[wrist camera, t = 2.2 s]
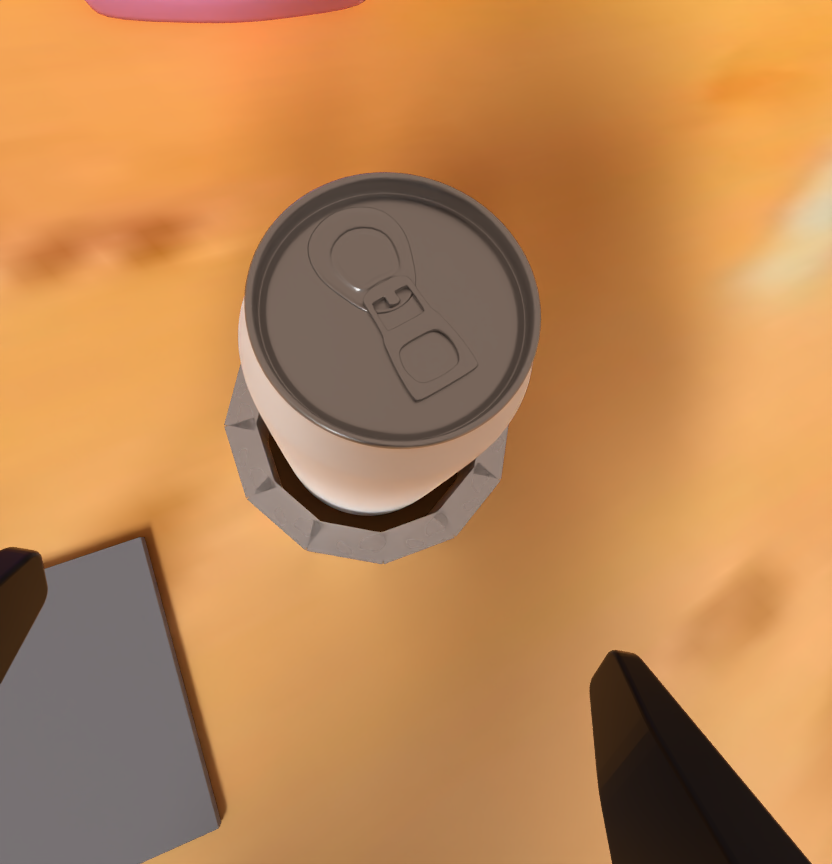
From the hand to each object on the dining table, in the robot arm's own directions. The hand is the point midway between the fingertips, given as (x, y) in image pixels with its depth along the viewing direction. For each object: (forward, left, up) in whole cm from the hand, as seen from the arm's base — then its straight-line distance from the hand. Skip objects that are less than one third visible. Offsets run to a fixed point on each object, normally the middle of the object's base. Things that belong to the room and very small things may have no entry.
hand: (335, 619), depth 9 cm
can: (+5, -3, -12) cm, 14 cm away
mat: (-1, +11, -12) cm, 17 cm away
